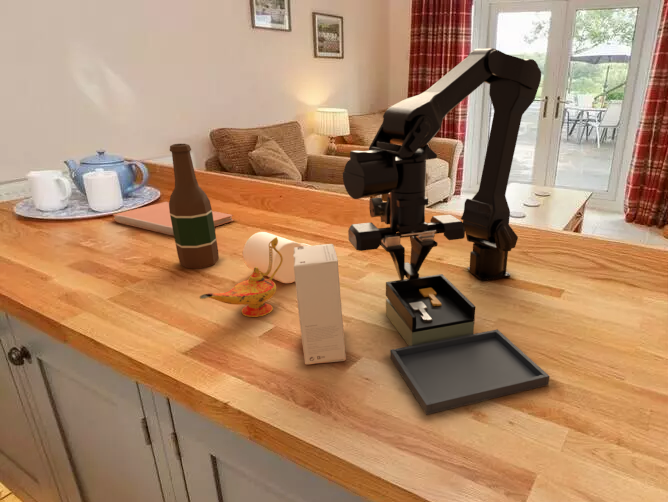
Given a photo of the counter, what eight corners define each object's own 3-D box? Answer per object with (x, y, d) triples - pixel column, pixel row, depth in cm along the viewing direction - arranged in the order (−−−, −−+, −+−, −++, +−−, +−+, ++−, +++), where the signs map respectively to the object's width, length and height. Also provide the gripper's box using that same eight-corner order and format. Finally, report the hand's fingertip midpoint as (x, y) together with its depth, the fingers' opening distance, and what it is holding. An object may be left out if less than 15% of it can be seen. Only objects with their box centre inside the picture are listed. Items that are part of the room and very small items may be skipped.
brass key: (419, 291, 81) (419, 289, 80) (431, 289, 81) (431, 287, 81) (432, 307, 76) (432, 304, 76) (445, 305, 77) (445, 302, 76)
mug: (275, 289, 90) (271, 248, 87) (244, 275, 96) (239, 236, 93) (325, 270, 99) (322, 232, 96) (294, 259, 105) (291, 223, 102)
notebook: (110, 222, 129) (108, 214, 128) (166, 207, 142) (165, 200, 141) (179, 238, 117) (177, 230, 116) (234, 221, 130) (233, 214, 129)
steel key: (408, 305, 76) (408, 303, 76) (422, 303, 77) (422, 301, 77) (422, 323, 71) (422, 320, 71) (436, 320, 72) (436, 318, 72)
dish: (376, 282, 84) (376, 266, 83) (429, 275, 87) (430, 259, 86) (412, 332, 70) (412, 313, 69) (474, 321, 73) (476, 303, 72)
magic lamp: (191, 333, 75) (178, 266, 71) (271, 290, 90) (264, 232, 86) (224, 343, 72) (213, 275, 68) (301, 297, 87) (295, 238, 83)
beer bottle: (171, 265, 101) (147, 145, 91) (199, 253, 107) (179, 140, 98) (200, 271, 98) (179, 148, 88) (227, 258, 105) (210, 143, 95)
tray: (496, 337, 75) (497, 329, 74) (548, 385, 64) (549, 376, 63) (390, 358, 69) (390, 349, 69) (426, 414, 58) (426, 405, 57)
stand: (385, 314, 81) (385, 298, 80) (440, 305, 85) (441, 290, 84) (411, 350, 71) (412, 332, 70) (473, 338, 74) (474, 321, 73)
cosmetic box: (346, 361, 68) (341, 262, 62) (302, 366, 67) (293, 265, 61) (340, 332, 76) (335, 241, 70) (300, 336, 75) (292, 244, 69)
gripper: (440, 175, 88) (437, 257, 94) (338, 183, 82) (342, 269, 88) (468, 189, 78) (463, 278, 85) (355, 198, 72) (359, 294, 79)
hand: (407, 279), depth 84 cm, fingers closed on dish, 2 cm apart
